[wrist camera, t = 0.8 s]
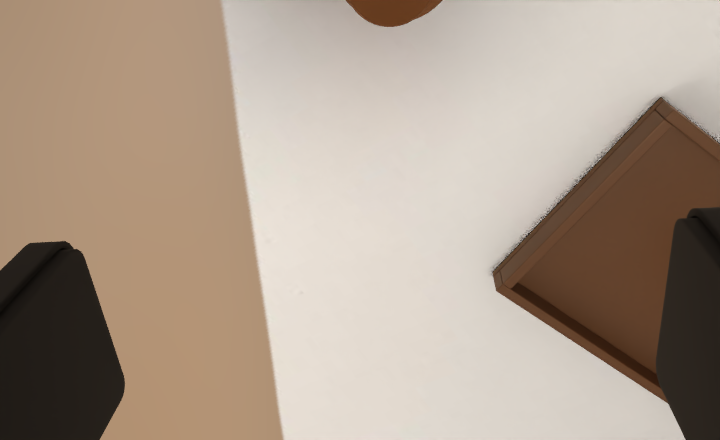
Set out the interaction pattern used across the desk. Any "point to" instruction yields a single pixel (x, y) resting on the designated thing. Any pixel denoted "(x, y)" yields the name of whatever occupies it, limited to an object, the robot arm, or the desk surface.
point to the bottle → (392, 10)
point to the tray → (617, 243)
